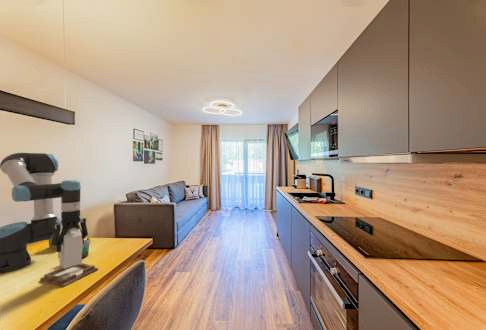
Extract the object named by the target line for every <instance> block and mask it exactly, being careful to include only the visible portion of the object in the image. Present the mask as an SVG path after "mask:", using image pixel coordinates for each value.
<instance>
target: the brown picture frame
mask: <svg viewBox="0 0 486 330" xmlns="http://www.w3.org/2000/svg"><path fill="white" fill-rule="evenodd" d="M97 271H99V269H98V267H95V265H94V264H93V265H92V264H88V263H83V262H82V263H81V264H78V265H75V266H72V267H69V268H65V269H64V268H63V267H62V266H61V267H60V268H57V269H55V270H53V271H50V272H48V273H46V274H44V275H43V277H40V281H41V282H45V283H48V284H52V285H55V286H56V285H57V286H60V287H63V288H64V287H67V286H69V285H71V284H73V283H75V282H77V281H78V280H81V279H83V278H85V277H87V276H89V275H91V274H93V273H95V272H97Z"/></svg>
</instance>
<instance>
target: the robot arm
mask: <svg viewBox="0 0 486 330" xmlns="http://www.w3.org/2000/svg"><path fill="white" fill-rule="evenodd" d="M0 170H1V172H2V173H3V174H5V175H6V176H7V177H8V178H9V180H10V182H11V184H12V185H13V187H12V189H11V198H12V200H13V201H14V202H18V203H19V202H23V203H25V202H30V201H31V202H32V201H33V212H34V213H33V214H34V215H33V218H32V219H30V223H28V222H27V221H19V222H13V223H9V224H6V225H3V226H1V227H0V274H2V273H9V272H12V271H15V270H19V269H21V268H24V267H26V266H28V265H30V264H31V263H32V258H31V255H30V253H29V250H28V245H30V244H34V243H35V244H36V243H38V242H42V241H49V239H52V242H51V245H54V246H56V249H55V251H56V253H57V258H58V259H60V258H61V259H62V258H63V245H62V242H63V238H64V236H65V235H66V234H67V232H68V231H69V229H71V228H75V227H76V228H77V229H79V228H80V231H81V234H82V251H83V244H84V240H85V238H86V237H87V236H88V235H89V232H88V228H87V223H86V222H87V218H84V217H81V210H80V209H81V188H82V186H81V181H80V180H78V179H74V180H73V179H70V180H69V179H67V180H63V181H62V182H57V183H53V182H52V181H53V180H52V179H53V178H52V177H53V176H54V175H55V172H57V171H58V170H59V162H58V159H57V157H56V156H55V155H54V154H52V153H45V152H44V153H43V152H42V153H39V152H38V153H37V152H35V153H34V152H16V153H11V154H8V155H7V156H6V157H4V158H3V159H2V160H1V162H0ZM58 198H59V199H60V198H61V200H60V201H61V202H60V205H61V206H60V210H61V212H60V214H61V215H60V216H61V218H59V217H58V216H57V215H56V214H55V213H54V199H58ZM62 229H63V230H62ZM60 232H61V233H60ZM59 234H60V235H59Z"/></svg>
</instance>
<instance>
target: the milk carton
mask: <svg viewBox="0 0 486 330" xmlns="http://www.w3.org/2000/svg"><path fill="white" fill-rule="evenodd" d="M80 229H81V227H80V228H79V229H77V228H76V227H75V228H71V229H69V231H68V232H67V234H66V235H65V236H64V238H63V242H62V245H63V258H62V259H61V258H59V266H60V267H61V268H62V267H63V268H64V269H65V268H69V267H72V266H75V265H78V264H81V263H83V261H82V260H83V259H82V234H81V231H82V230H81V231H80ZM62 230H63V229H62V228H61V231H62Z"/></svg>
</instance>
